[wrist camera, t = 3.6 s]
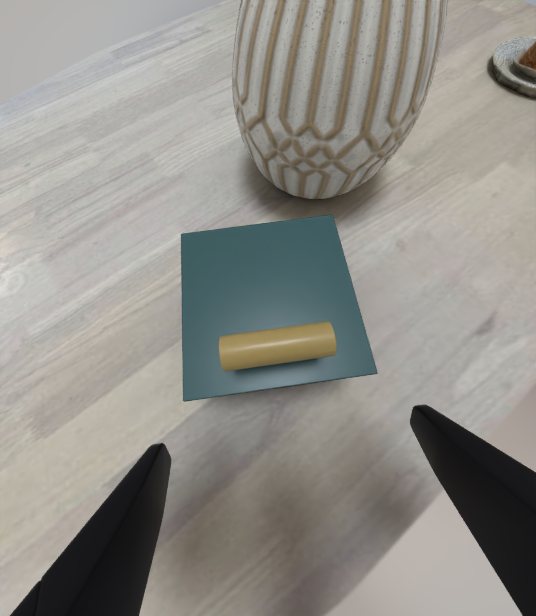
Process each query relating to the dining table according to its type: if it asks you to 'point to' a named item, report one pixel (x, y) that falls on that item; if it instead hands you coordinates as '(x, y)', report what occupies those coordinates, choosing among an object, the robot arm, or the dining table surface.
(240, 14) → the vase
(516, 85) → the pastry
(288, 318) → the box lid
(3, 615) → the dining table surface
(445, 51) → the dining table surface
